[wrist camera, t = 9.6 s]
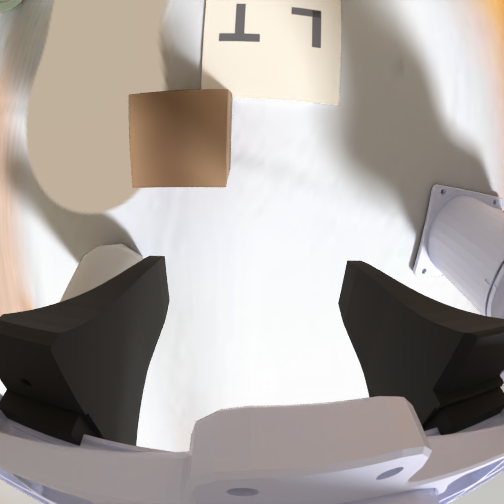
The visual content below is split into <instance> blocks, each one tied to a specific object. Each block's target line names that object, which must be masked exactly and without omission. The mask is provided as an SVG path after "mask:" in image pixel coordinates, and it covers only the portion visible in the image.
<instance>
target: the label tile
mask: <svg viewBox="0 0 504 504" xmlns="http://www.w3.org/2000/svg"><path fill="white" fill-rule="evenodd" d="M340 69H341V0H206V12H205V25H204V39H203V56H202V77H201V89H228V90H229V91H230V92H231V93H232V98H259V99H276V100H289V101H300V102H310V103H319V104H327V105H334V106H339V93H340Z"/></svg>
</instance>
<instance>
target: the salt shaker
mask: <svg viewBox="0 0 504 504" xmlns="http://www.w3.org/2000/svg"><path fill="white" fill-rule="evenodd" d="M141 260H143V257H142V256H141V255H140V254H138V253H137V252H135V251H133V250H132V249H130V248H129V247H127V246H126V245H124V244H113V245H102V246H97V247H96V248H94V249H93V250H91V251H90V252H88V253H87V254H85V255H84V256H83V258H82V259H81V261H80V263H79V265H78V267H77V269H76V271H75V273H74V275H73V277H72V278H71V280H70V282H69V284H68V286H67V288H66V291H65V293H64V295H63V297H62V299H61V301H60V302H62V301H65V300H67V299H70V298H73V297H76V296H78V295H80V294H83V293H85V292H87V291H89V290H91V289H93V288H95V287H97V286H99V285H101V284H103V283H105V282H106V281H108V280H110V279H111V278H113V277H115V276H117V275H118V274H120V273H122V272H123V271H125V270H126V269H128V268H130V267H131V266H133V265H134V264H136V263H138V262H139V261H141Z"/></svg>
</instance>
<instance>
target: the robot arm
mask: <svg viewBox="0 0 504 504" xmlns="http://www.w3.org/2000/svg"><path fill="white" fill-rule="evenodd" d="M442 189H443V193H442V194H441V190H442ZM493 201H494V202H493ZM502 207H503V199H502V198H500V197H496V196H492V195H487V194H483V193H478V192H474V191H469V190H464V189H459V188H454V187H449V186H444V185H438V184H436V185H434V186H433V187H432V191H431V197H430V202H429V207H428V212H427V217H426V221H425V226H424V230H423V234H422V238H421V242H420V246H419V250H418V254H417V258H416V261H415V265H414V268H413V273H414V274H415V275H416V276H445V277H446V278H447V279H448V280H449V281H450V282H451V283H452V284H453V285H454V286H455V287H456V288H457V289H458V290H459V291H460V292H461V293H462V294H463V295H464V296H465V297H466V298H467V299H468V300H469V301H470V302H471V304H472V305H473V306H474V307H475V308H476V309H477V310H478V311H479V312H480V313H481V314H482V315H479V314H475V313H471V312H467V311H464V310H460V309H457V308H454V307H451V306H448V305H446V304H443V303H440V302H438V301H436V300H433V299H431V298H429V297H427V296H424V295H422V294H420V293H418V292H416V291H414V290H413V289H411V288H409V287H407V286H405V285H403V284H402V283H400V282H398V281H397V280H395V279H393V278H392V277H390V276H388V275H386V274H385V273H383V272H381V271H380V270H378V269H376V268H375V267H373V266H371V265H369V264H367V263H365V262H362V261H347V265H346V270H345V275H344V280H343V284H342V289H341V294H340V298H339V303H338V304H339V308H340V312H341V316H342V320H343V323H344V326H345V328H346V330H347V333H348V335H349V338H350V340H351V342H352V345H353V347H354V349H355V352H356V354H357V357H358V359H359V361H360V364H361V367H362V370H363V373H364V376H365V380H366V384H367V388H368V392H369V397H370V398H363V399H355V400H347V401H338V402H327V403H315V404H300V405H276V406H244V407H236V408H228V409H220V410H218V411H216V412H214V413H212V414H210V415H208V416H206V417H204V418H202V419H200V420H198V421H196V423H195V426H194V429H193V432H192V434H191V443H190V451H188V452H171V451H164V450H157V449H150V448H144V447H138V446H136V440H137V429H138V421H139V413H140V407H141V400H142V394H143V389H144V384H145V379H146V375H147V370H148V367H149V364H150V361H151V358H152V355H153V352H154V350H155V347H156V344H157V341H158V339H159V336H160V333H161V330H162V328H163V325H164V322H165V319H166V314H167V310H168V305H169V292H168V284H167V275H166V265H165V256H149V257H146V258H144V259H143V260H141V261H139V262H138V263H136V264H134V265H133V266H131V267H130V268H128V269H126V270H125V271H123V272H122V273H120V274H118V275H117V276H115V277H113V278H111V279H110V280H108V281H106V282H105V283H103V284H101V285H99V286H97V287H95V288H93V289H91V290H89V291H87V292H85V293H83V294H80V295H78V296H76V297H73V298H70V299H67V300H65V301H62V302H59V303H56V304H53V305H49V306H46V307H42V308H38V309H34V310H29V311H23V312H17V313H10V314H3V315H2V316H1V317H0V379H1V381H2V382H3V384H4V386H5V387H6V389H7V390H6V392H5V394H4V396H2V395H1V394H0V479H1V480H3V481H4V482H6V483H7V484H9V485H11V486H13V487H14V488H16V489H18V490H19V491H21V492H23V493H25V494H27V495H29V496H30V497H32V498H34V499H36V500H38V501H40V502H42V503H44V504H448V503H449V502H452V501H454V500H455V499H457V498H459V497H461V496H463V495H465V494H466V493H468V492H470V491H472V490H474V489H475V488H477V487H479V486H480V485H482V484H484V483H485V482H487V481H488V480H490V479H492V478H493V477H495V476H496V475H498V474H499V473H501V472H502V471H504V392H503V391H502V389H501V388H500V387H501V386H502V385H503V386H504V211H503V210H502ZM423 269H424V270H423ZM422 270H423V271H422Z"/></svg>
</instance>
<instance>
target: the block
mask: <svg viewBox="0 0 504 504" xmlns="http://www.w3.org/2000/svg"><path fill="white" fill-rule="evenodd" d="M231 120H232V93H231V92H230V91H229V90H228V89H196V90H175V91H161V92H151V93H140V94H131V95H129V137H130V158H131V174H132V187H133V188H145V187H226V184H227V179H228V175H229V171H230V156H231Z"/></svg>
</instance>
